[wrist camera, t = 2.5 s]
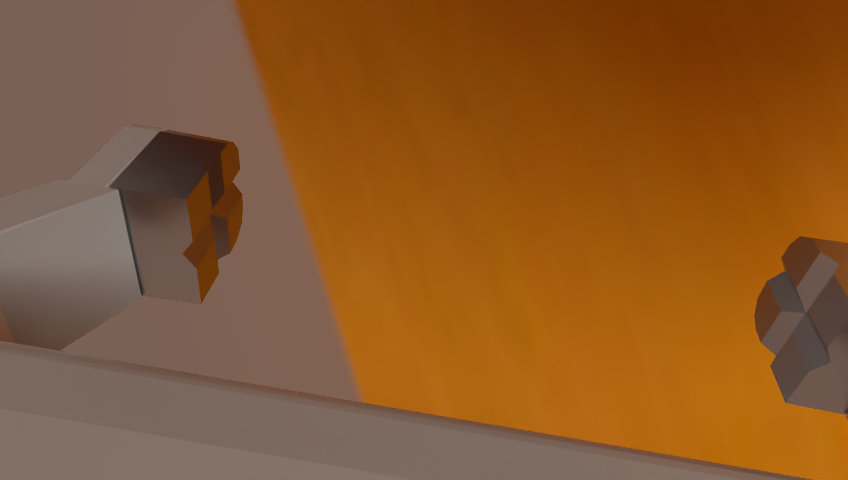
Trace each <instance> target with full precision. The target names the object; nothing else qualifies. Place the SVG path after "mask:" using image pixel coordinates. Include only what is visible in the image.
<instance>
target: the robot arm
mask: <svg viewBox="0 0 848 480" xmlns="http://www.w3.org/2000/svg"><path fill="white" fill-rule="evenodd" d="M239 163H240V162H239V153H238V148H237V147H236V145H235V144H234V142H230V141H225V140H220V139H213V138H209V137H203V136H198V135H192V134H187V133H182V132H176V131H171V130H164V129H161V128H155V127H148V126H141V125H135V124H134V125H126V126H124V128H122V129H121V130H120V131H119V132H118V133H117V134H116V135H115V136H114V137H113V138H112V139H111V140H110V141H109V142H108V143H107V144H106V145H105V146H104V147H103V148H102V149H101V150H99V151H98V153H96V154H95V155H94V156H93V157H92V158H91V159H90V160H89V161H88V162H87V163H86V164H85V165H84V166H83V167H82V168H81V169H80V170H79V171H78V172H77V173H76V174H75V175H74V176H73V177H71V178H70V180H68V181H65V180H60V179H56V180H53V181H49V182H46V183H43V184H40V185H37V186H34V187H31V188H28V189H25V190H22V191H18V192H15V193H12V194H9V195H6V196H3V197H0V480H812V479H806V478H800V477H794V476H789V475H783V474H777V473H771V472H766V471H760V470H754V469H748V468H742V467H737V466H731V465H725V464H719V463H713V462H708V461H702V460H696V459H690V458H685V457H679V456H673V455H667V454H661V453H656V452H650V451H644V450H638V449H632V448H626V447H621V446H615V445H609V444H603V443H597V442H591V441H585V440H579V439H573V438H568V437H562V436H556V435H550V434H544V433H538V432H532V431H526V430H521V429H515V428H509V427H503V426H497V425H491V424H485V423H479V422H473V421H468V420H462V419H456V418H450V417H444V416H438V415H432V414H426V413H420V412H415V411H409V410H403V409H397V408H391V407H385V406H379V405H373V404H368V403H362V402H356V401H350V400H344V399H338V398H332V397H327V396H320V395H315V394H309V393H303V392H297V391H291V390H286V389H280V388H274V387H268V386H262V385H256V384H251V383H244V382H239V381H233V380H227V379H221V378H215V377H210V376H204V375H198V374H192V373H186V372H180V371H175V370H169V369H163V368H157V367H151V366H145V365H139V364H134V363H128V362H122V361H116V360H110V359H104V358H98V357H93V356H87V355H81V354H75V353H69V352H63V351H60V350H62V349H63V348H65V347H66V346H68V345H70V344H71V343H73V342H74V341H76V340H78V339H79V338H81V337H82V336H84V335H85V334H87V333H89V332H90V331H92V330H93V329H95V328H97V327H98V326H100V325H101V324H103V323H104V322H106V321H107V320H109V319H111V318H112V317H114V316H115V315H117V314H119V313H120V312H122V311H123V310H125V309H126V308H128V307H130V306H131V305H133V304H134V303H136V302H137V301H139V300H141V299H142V296H148V297H156V298H163V299H169V300H176V301H183V302H190V303H197V304H202V302H203V300H204V298H205V296H206V295H207V293H208V291H209V290H210V288H211V286H212V284H213V282H214V281H215V279H216V277H217V276H218V274H219V270H218V259H220V258H222V257H223V256H226V255H228V254H230V252H231V250H232V249H233V247H234V245H235V243H236V241H237V238H238V234H239V231H240V227H241V224H242V212H243V201H242V193H241V192H240V191H239V189H238V188H237V187H236V186H235V184H234V183H233V182H232V181H233V179H234V178H235V176H236V175H237V173H238V171H239V170H240V164H239ZM782 262H783V266H784V269H785V271H784V272H783V273H781V274H779V275H777V276H775V277H774V278H772V279H770V280H768V281H767V282H766V284H765V286H764V288H763V290H762V291H761V293H760V295H759V297H758V299H757V305H756V310H755V325H756V331H757V333H758V336H759V339H760V341H761V343H762V344H763V345H765V346H766V347H767V348H768V349H769V350H770V351H771V352H772V353H774V354H775V355H776V357H775V359H774V361H773V362H772V364H771V369H772V371H773V374H774V376H775V378H776V381H777V383H778V386H779V388H780V391H781V393H782V395H783V398H784V400H785V403H789V404H794V405H799V406H804V407H809V408H814V409H820V410H825V411H830V412H835V413H840V414H845V415H847V416H846V418H847V419H848V243H844V242H836V241H829V240H822V239H815V238H808V237H801V236H800V237H799V238H797V239H796V240H795V241H794V242H793V243H791V244H790V245H789V247H788V249H787V250H786V252H785V253H784V255H783V256H782Z"/></svg>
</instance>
